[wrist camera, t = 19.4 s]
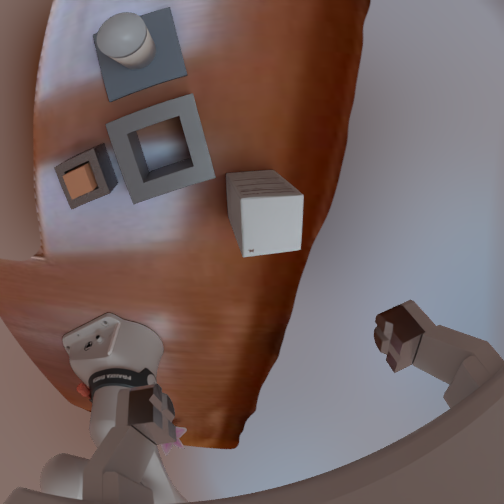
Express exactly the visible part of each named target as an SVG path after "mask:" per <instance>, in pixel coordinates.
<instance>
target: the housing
mask: <svg viewBox="0 0 504 504" xmlns="http://www.w3.org/2000/svg"><path fill="white" fill-rule="evenodd" d="M177 116H179V117H180V120H181V124H182V127H183V131H184V134H185V138H186V141H187V145H188V148H189V152H190V155H191V158H190V159H187V160H183V161H180V162H177V163H174V164H171V165H168V166H165V167H162V168H159V169H156V170H153V171H151V172H149V169H148V166H147V163H146V160H145V157H144V154H143V151H142V148H141V145H140V142H139V139H138V135H137V132H136V130H139V129H141V128H144V127H147V126H150V125H153V124H156V123H158V122H161V121H164V120H167V119H170V118H174V117H177ZM105 125H106V128H107V131H108V134H109V137H110V140H111V143H112V146H113V149H114V152H115V155H116V158H117V161H118V164H119V167H120V170H121V172H122V175H123V178H124V181H125V183H126V186H127V189H128V191H129V194H130V196H131V199H132V202H133V204H136V203H139V202H142V201H145V200H148V199H150V198H153V197H156V196H159V195H162V194H165V193H168V192H171V191H174V190H177V189H180V188H184V187H187V186H190V185H193V184H196V183H200V182H203V181H206V180H210V179H213V178H216V176H215V173H214V169H213V166H212V162H211V158H210V155H209V151H208V148H207V144H206V140H205V137H204V133H203V129H202V126H201V122H200V118H199V115H198V111H197V107H196V103H195V100H194V96H193V93H192V94H189V95H185V96H182V97H179V98H175V99H172V100H169V101H166V102H163V103H160V104H157V105H154V106H151V107H148V108H145V109H143V110H140V111H137V112H135V113H132V114H129V115H127V116H124V117H122V118H119V119H117V120H114V121H112V122H110V123H107V124H105Z"/></svg>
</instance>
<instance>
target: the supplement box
mask: <svg viewBox="0 0 504 504" xmlns="http://www.w3.org/2000/svg"><path fill="white" fill-rule="evenodd" d="M226 191H227V207H228V218H229V220H230V223H231V226H232V229H233V231H234V234H235V237H236V240H237V242H238V245H239V248H240V251H241V253H242V256H243V257H249V256H257V255H265V254H273V253H281V252H288V251H296V250H300V249H301V236H302V219H303V197H304V195H303V194H302V193H300V192H299V191H298V190H297V189H296V188H295V187H293V186H292V185H291V184H290V183H289V182H287V181H286V180H285V179H284V178H283V177H282V176H280V175H279V174H278V173H277V172H275V171H274V170H262V171H247V172H235V173H226Z"/></svg>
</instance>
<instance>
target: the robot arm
mask: <svg viewBox="0 0 504 504" xmlns="http://www.w3.org/2000/svg"><path fill="white" fill-rule="evenodd" d="M105 321H106V322H105ZM375 322H376V324H377V327H376V328H375V330H374V339H375V343H376V345H377V347H378V349H379V350H380V352H382V353H384V354H386V355H387V358H386V361H387V362H388V364H389V365H390V367H391V368H392V370H393V371H394V373H395V372H398V371H400V370H402V369H404V368H406V367H408V366H410V365H412V364H413V365H414V366H415V367H417V368H419V369H421V370H423V371H425V372H427V373H429V374H431V375H432V376H434V377H436V378H438V379H440V380H442V381H444V382H446V383H448V384H449V387H448V389H447V390H446V392H445V394H444V399H445V401H446V402H447V404H448V405H449V407H450V408H451V409H449V410H448V411H446V412H445V413H443V414H442V415H440V416H439V417H437V418H436V419H434V420H433V421H431V422H429V423H428V424H426V425H425V426H423V427H421V428H419V429H418V430H416V431H414V432H413V433H411V434H409V435H407V436H405V437H404V438H402V439H400V440H398V441H396V442H394V443H392V444H390V445H388V446H386V447H384V448H383V449H380V450H378V451H377V452H374V453H372V454H370V455H368V456H366V457H363V458H361V459H359V460H356V461H354V462H351V463H349V464H347V465H344V466H342V467H339V468H337V469H334V470H332V471H329V472H326V473H323V474H320V475H317V476H314V477H311V478H308V479H305V480H302V481H298V482H295V483H292V484H288V485H284V486H281V487H277V488H273V489H269V490H265V491H261V492H256V493H251V494H246V495H240V496H235V497H229V498H222V499H216V500H209V501H199V502H188V501H187V500H186V499H185V498H184V497H183V496H182V495H181V494H180V493H179V492H178V491H177V489H176V488H175V487H174V485H173V484H172V482H171V480H170V478H169V476H168V474H167V472H166V470H165V468H164V465H163V463H162V460H161V457H160V454H159V451H158V447H157V445H159V444H166V443H173V442H177V439H176V427H175V426H174V425H173V424H172V420H173V419H174V417H175V412H174V407H173V403H172V401H171V399H170V397H169V396H168V395H167V394H165V393H162V388H161V387H160V386H159V385H158V384H157V380H156V375H157V370H158V365H159V362H160V359H161V357H162V355H163V350H164V348H163V343H162V341H161V339H160V338H159V337H158V335H157V334H156V333H155V332H153V331H152V330H151V329H149V328H147V327H146V326H144V325H141V324H139V323H135V322H131V321H127V320H123V319H121V318H120V317H118V316H116V315H114V314H112V313H106V314H104V315H102V316H100V317H98V318H96V319H94V320H92V321H90V322H88V323H86V324H84V325H83V326H81V327H79V328H77V329H75V330H73V331H71V332H69V333H67V334H65V335H64V336H63V339H62V340H63V345H64V348H65V350H66V352H67V353H68V355H69V362H70V365H71V367H72V369H73V371H74V372H75V374H76V375H77V376H78V377H79V378H80V379H81V380H82V381H83V382H84V383H85V384H86V385H87V386H88V387H89V388H90V389H89V388H87V387H86V385H85V384H84V383H80V384H79V385H78V386H77V391H78V392H79V393H80V394H82V396H83V397H88V398H89V399H90V401H91V402H92V411H91V418H90V427H89V429H90V435H91V438H92V440H93V442H94V444H95V445H96V446H97V450H96V451H95V453H94V454H93V456H92V458H91V459H90V460H89V459H86V458H82V457H78V456H73V455H70V454H65V453H62V454H59V455H56V456H54V457H53V458H51V459H50V460H49V461H48V462H47V463H46V464H45V466H44V467H43V469H42V472H41V476H40V487H41V492H38V491H34V490H30V489H27V488H22V487H19V488H16V489H15V490H14V491H13V492H12V493H11V494H10V495H9V497H8V498H7V499H6V501H5V502H4V503H3V504H504V361H503V359H502V358H501V357H500V356H499V354H498V353H497V352H496V351H495V350H494V348H493V347H492V346H491V345H490V344H489V343H488V342H487V341H484V340H481V339H478V338H475V337H473V336H470V335H467V334H464V333H461V332H458V331H455V330H452V329H450V328H447V327H444V326H441V325H438V326H436V325H435V324H434V323H433V322H432V321H431V320H430V319H429V317H428V316H427V315H426V314H425V313H424V312H423V311H422V310H421V309H420V307H418V305H417V304H416V303H415V302H414V301H412V300H409V301H407V302H404V303H403V304H400V305H398V306H395V307H393V308H391V309H389V310H387V311H384V312H382V313H380V314H378V315H377V316H376V320H375ZM90 392H91V393H90Z"/></svg>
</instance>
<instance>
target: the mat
mask: <svg viewBox="0 0 504 504" xmlns="http://www.w3.org/2000/svg"><path fill="white" fill-rule="evenodd" d="M140 17H141V18H142V20H143V21H144V23H145V25H146V27H147V29H148V31H149V33H150V35H151V37H152V39H153V41H154V43H155V45H156V55H155V58H154V59H153V61H152V62H151V63H150V64H149V65H148V66H146V67H144V68H142V69H138V70H132V69H128V68H126V67H125V66H123V65H122V64H120V63H118V62H117V61H115V60H114V59H112V58H110V57H109V56H107V55H105V54H104V53H102V52H101V51H100V49H99V48H98V45H97V34H98V33H96V34H94V35H93V38H94V43H95V47H96V52H97V56H98V60H99V64H100V68H101V72H102V76H103V80H104V84H105V87H106V91H107V95H108V98H109V102H112V101H114V100H117V99H119V98H122V97H124V96H127V95H129V94H132V93H135V92H137V91H140V90H143V89H146V88H148V87H151V86H154V85H157V84H160V83H163V82H166V81H170V80H173V79H176V78H180V77H183V76H186V75H187V72H186V68H185V64H184V61H183V57H182V53H181V49H180V45H179V41H178V37H177V33H176V29H175V26H174V22H173V18H172V14H171V10H170V7H168V8H165V9H161V10H158V11H154V12H151V13H148V14H145V15H142V16H140Z"/></svg>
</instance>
